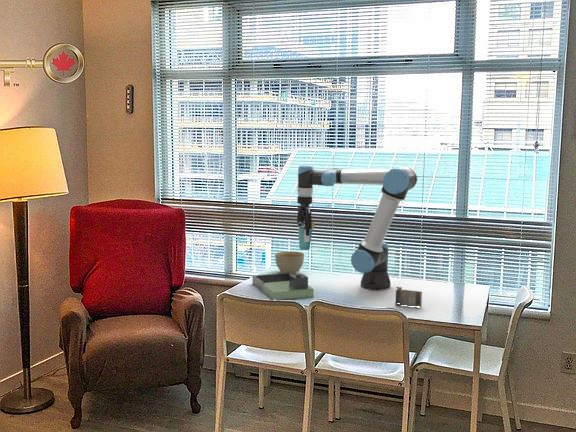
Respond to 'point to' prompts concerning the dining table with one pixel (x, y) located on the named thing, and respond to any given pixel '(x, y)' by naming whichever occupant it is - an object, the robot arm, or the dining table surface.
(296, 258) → the planter bowl
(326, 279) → the dining table surface
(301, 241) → the cup
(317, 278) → the dining table surface
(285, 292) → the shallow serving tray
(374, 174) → the robot arm
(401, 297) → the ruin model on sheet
